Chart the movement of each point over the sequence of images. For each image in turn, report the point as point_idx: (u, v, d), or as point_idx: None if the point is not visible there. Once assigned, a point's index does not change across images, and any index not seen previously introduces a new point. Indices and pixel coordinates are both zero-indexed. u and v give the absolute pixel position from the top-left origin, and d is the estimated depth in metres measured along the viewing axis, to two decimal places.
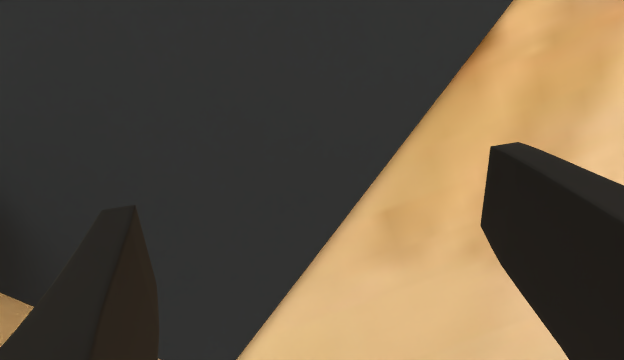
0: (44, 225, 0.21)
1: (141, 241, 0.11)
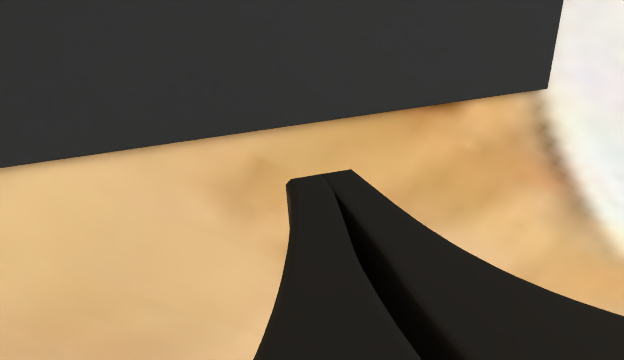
0: None
1: None
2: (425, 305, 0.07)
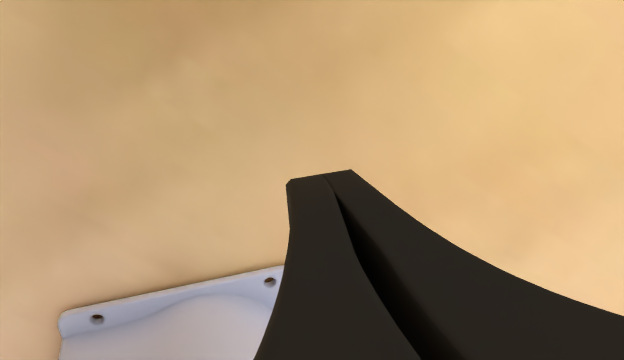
0: None
1: None
2: (425, 305, 0.07)
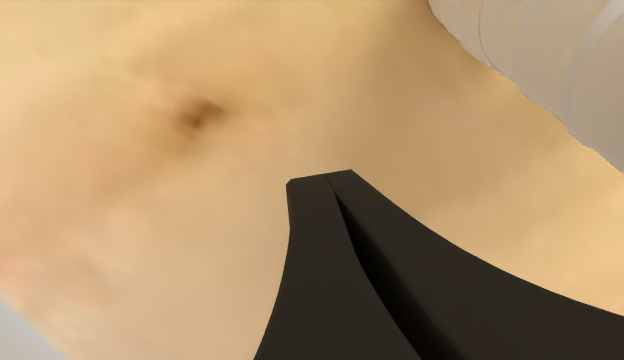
0: None
1: None
2: (425, 305, 0.07)
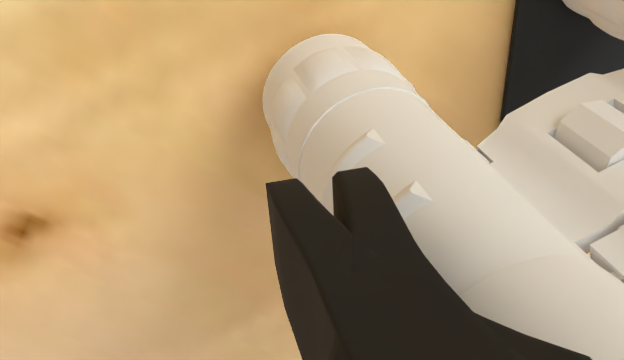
0: (585, 61, 0.24)
1: None
2: (338, 323, 0.07)
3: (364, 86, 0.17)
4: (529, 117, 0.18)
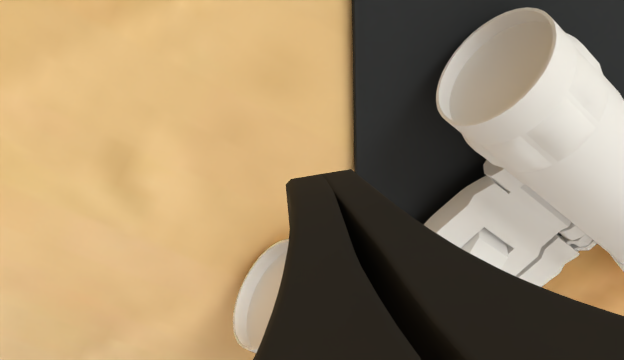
0: (439, 72, 0.22)
1: None
2: (425, 305, 0.07)
3: None
4: None
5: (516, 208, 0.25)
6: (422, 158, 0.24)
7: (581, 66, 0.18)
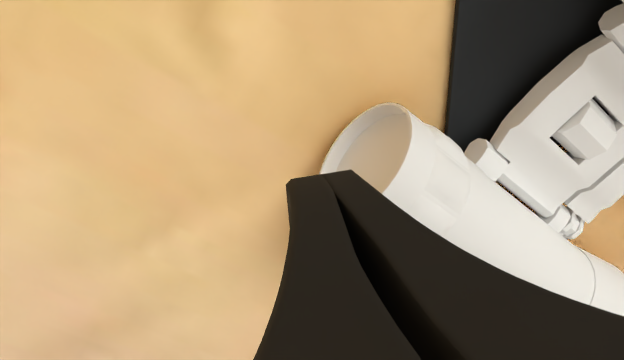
0: None
1: None
2: (425, 305, 0.07)
3: (471, 237, 0.21)
4: (537, 124, 0.22)
5: None
6: (529, 16, 0.22)
7: None
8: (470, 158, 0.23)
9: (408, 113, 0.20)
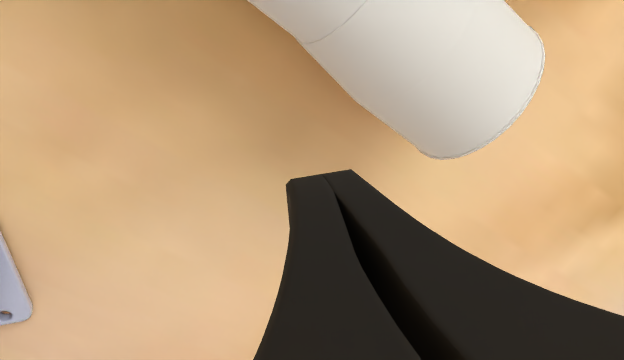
0: None
1: None
2: (425, 305, 0.07)
3: None
4: None
5: None
6: None
7: None
8: None
9: None
